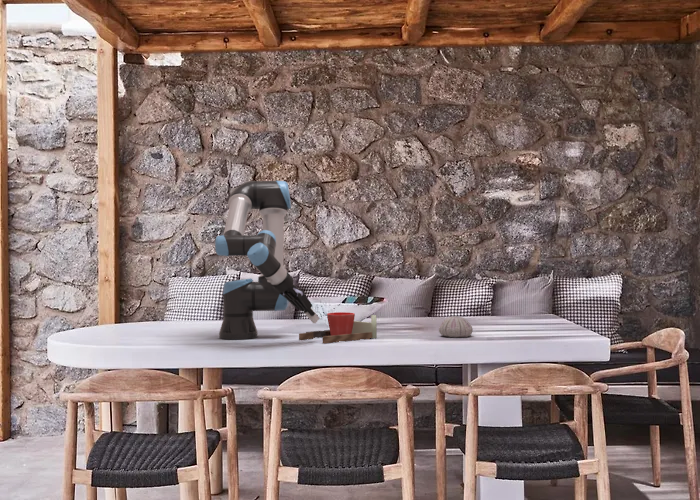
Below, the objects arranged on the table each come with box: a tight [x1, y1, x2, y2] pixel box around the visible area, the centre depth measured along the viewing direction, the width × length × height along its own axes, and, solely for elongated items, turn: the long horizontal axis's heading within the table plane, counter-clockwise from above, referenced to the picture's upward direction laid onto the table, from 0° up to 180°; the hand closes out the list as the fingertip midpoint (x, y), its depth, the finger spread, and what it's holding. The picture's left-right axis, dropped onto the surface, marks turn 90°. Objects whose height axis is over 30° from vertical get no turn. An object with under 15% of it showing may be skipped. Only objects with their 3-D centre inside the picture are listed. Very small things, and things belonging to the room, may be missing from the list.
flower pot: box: [326, 311, 356, 336], centre depth 311 cm, size 11×11×10 cm
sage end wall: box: [352, 314, 378, 339], centre depth 314 cm, size 2×18×9 cm, turn 39°
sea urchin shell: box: [438, 315, 474, 339], centre depth 312 cm, size 13×14×8 cm
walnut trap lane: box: [298, 329, 372, 345], centre depth 308 cm, size 25×19×2 cm
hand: (316, 320), depth 300 cm, fingers closed
